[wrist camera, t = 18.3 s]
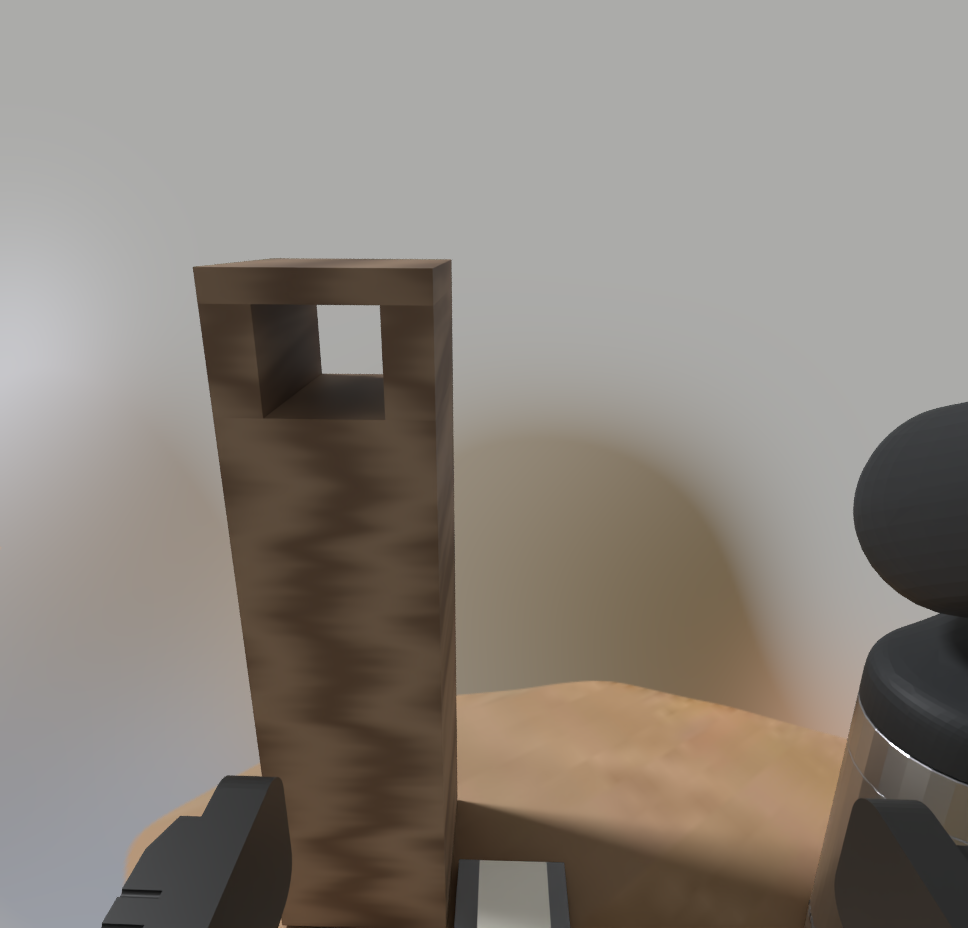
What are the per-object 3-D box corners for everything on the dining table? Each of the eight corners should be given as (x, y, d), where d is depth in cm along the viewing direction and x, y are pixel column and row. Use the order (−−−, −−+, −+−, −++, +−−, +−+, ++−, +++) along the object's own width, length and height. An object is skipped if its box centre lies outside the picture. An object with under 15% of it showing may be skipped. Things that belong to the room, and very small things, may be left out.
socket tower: (457, 797, 49) (451, 259, 36) (446, 930, 40) (432, 268, 27) (324, 793, 49) (272, 258, 37) (282, 925, 40) (192, 266, 27)
